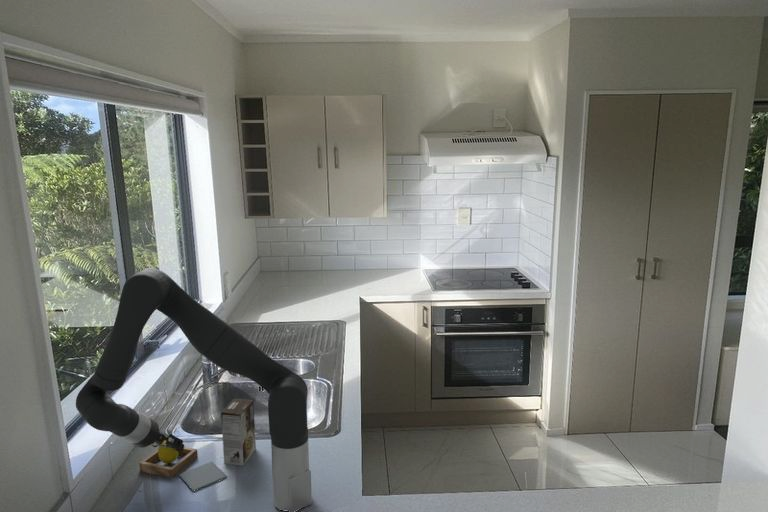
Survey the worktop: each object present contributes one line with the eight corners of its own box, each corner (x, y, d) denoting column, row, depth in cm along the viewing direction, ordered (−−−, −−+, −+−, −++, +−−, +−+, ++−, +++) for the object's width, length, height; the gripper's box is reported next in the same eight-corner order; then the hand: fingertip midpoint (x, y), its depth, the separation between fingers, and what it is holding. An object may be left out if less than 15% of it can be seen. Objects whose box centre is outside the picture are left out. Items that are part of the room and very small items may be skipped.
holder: (197, 456, 158) (197, 449, 158) (172, 478, 148) (171, 469, 147) (166, 450, 161) (166, 443, 161) (139, 470, 151) (139, 462, 151)
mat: (227, 477, 148) (227, 475, 148) (193, 491, 142) (193, 490, 142) (212, 462, 155) (211, 461, 155) (178, 475, 149) (178, 474, 149)
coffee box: (236, 447, 163) (233, 397, 160) (256, 449, 162) (254, 399, 159) (223, 463, 154) (219, 411, 151) (244, 466, 153) (241, 413, 150)
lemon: (161, 471, 151) (159, 445, 149) (157, 462, 155) (154, 437, 154) (182, 465, 154) (180, 439, 152) (176, 456, 158) (174, 431, 157)
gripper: (165, 418, 141) (195, 437, 154) (121, 410, 145) (155, 429, 158) (152, 447, 137) (185, 463, 150) (108, 438, 141) (143, 455, 154)
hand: (169, 446), depth 154 cm, fingers open, 8 cm apart
